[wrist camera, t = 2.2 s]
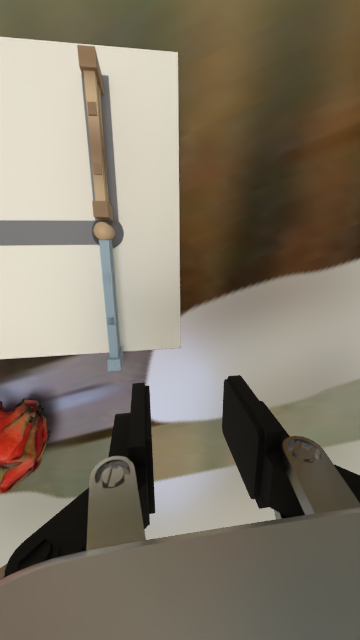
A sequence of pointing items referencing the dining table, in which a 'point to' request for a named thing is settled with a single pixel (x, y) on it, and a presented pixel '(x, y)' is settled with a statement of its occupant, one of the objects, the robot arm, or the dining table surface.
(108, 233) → the panel
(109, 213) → the fence section
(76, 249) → the card
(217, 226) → the dining table surface
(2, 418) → the dragon fruit
